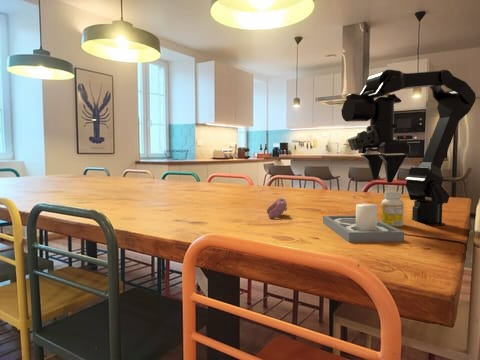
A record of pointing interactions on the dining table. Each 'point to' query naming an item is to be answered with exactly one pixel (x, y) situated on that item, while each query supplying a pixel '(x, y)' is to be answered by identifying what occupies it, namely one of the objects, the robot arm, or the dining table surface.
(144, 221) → the dining table surface
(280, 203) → the video game controller
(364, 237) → the tray
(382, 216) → the supplement bottle
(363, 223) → the jaw peg
